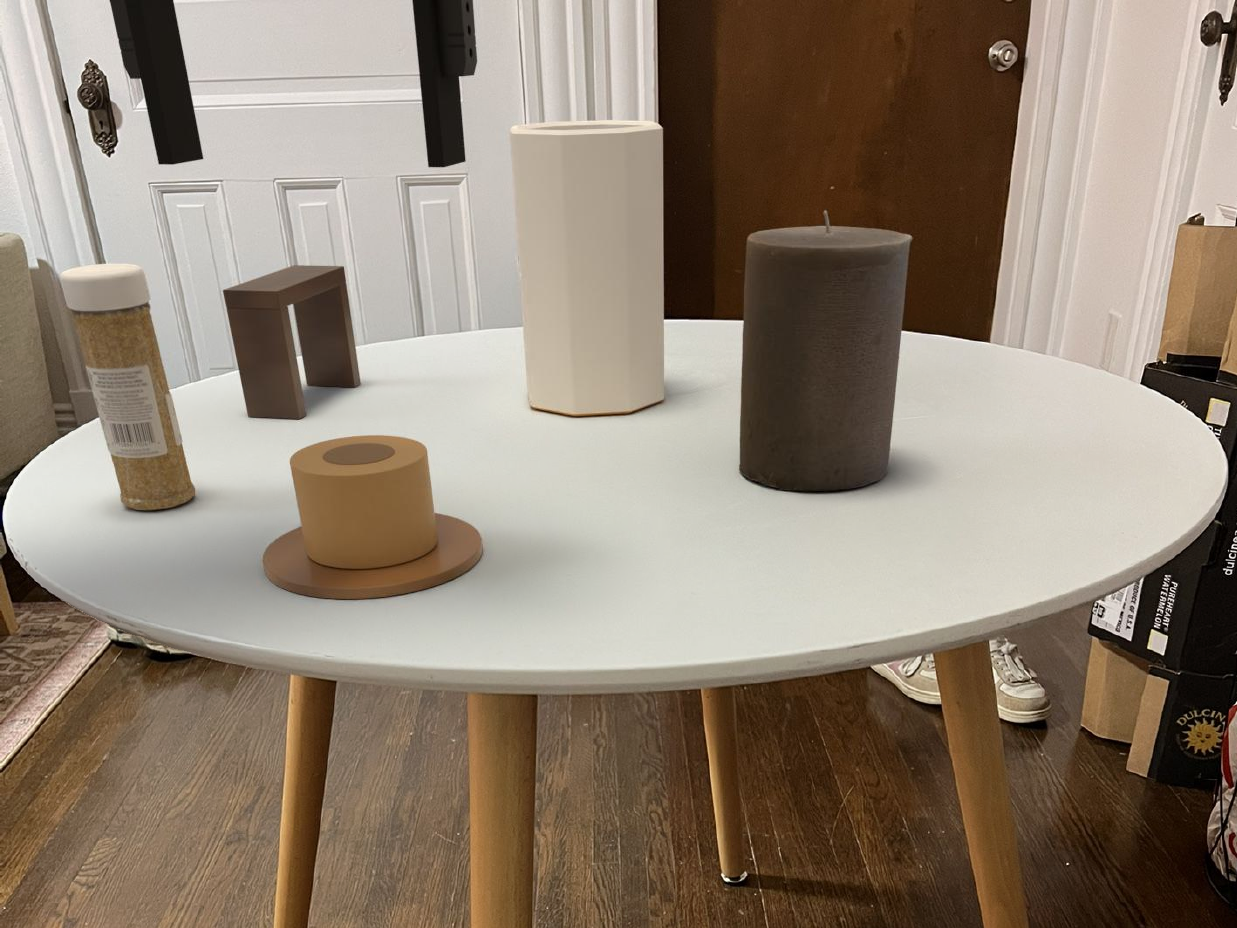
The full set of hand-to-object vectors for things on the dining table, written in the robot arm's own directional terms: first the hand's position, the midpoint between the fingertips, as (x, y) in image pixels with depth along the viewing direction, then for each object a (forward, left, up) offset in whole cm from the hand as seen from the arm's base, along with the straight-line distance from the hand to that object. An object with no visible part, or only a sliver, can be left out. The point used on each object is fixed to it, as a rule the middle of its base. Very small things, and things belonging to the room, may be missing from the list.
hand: (311, 164), depth 55 cm
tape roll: (0, 0, -18) cm, 18 cm away
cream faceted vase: (+3, +35, -19) cm, 40 cm away
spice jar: (-17, +6, -19) cm, 27 cm away
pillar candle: (+22, +20, -19) cm, 36 cm away
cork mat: (0, 0, -19) cm, 19 cm away
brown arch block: (-20, +31, -19) cm, 41 cm away
